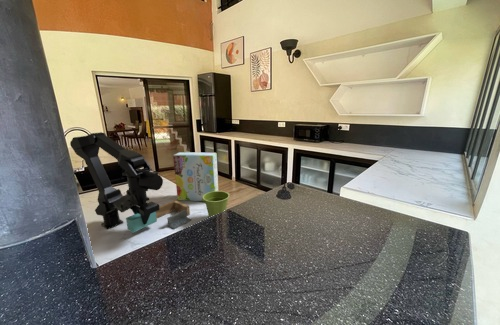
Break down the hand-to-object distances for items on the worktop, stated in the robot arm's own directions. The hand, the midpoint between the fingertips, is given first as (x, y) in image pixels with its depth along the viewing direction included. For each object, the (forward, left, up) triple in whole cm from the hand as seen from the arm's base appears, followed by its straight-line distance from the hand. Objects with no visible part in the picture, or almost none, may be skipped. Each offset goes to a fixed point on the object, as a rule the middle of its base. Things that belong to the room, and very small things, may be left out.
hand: (142, 222), depth 86 cm
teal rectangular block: (0, 0, -1) cm, 1 cm away
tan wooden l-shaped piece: (0, +12, -4) cm, 13 cm away
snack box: (-6, +35, -4) cm, 36 cm away
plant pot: (+18, +25, -4) cm, 31 cm away
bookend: (+7, +13, -4) cm, 15 cm away
